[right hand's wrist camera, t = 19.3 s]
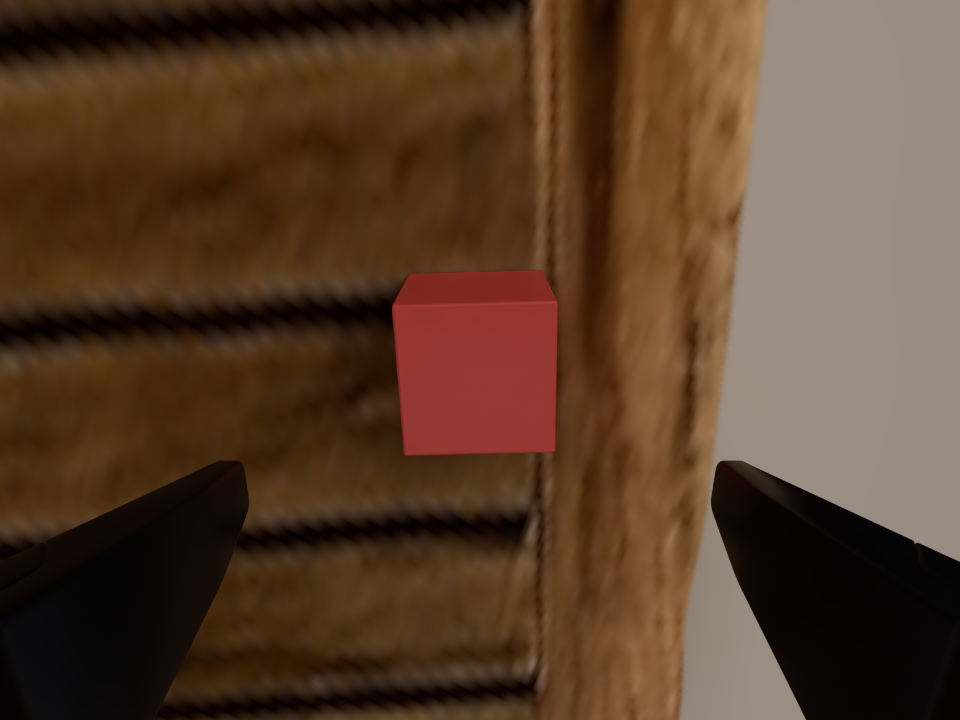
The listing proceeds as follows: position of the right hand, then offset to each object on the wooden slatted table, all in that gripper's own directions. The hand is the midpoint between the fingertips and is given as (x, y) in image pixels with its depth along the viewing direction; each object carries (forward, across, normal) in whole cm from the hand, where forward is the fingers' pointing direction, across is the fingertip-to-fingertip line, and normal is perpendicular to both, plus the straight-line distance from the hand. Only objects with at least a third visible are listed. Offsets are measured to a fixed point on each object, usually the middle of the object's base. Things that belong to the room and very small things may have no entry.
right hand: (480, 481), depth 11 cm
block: (+9, 0, 0) cm, 9 cm away
